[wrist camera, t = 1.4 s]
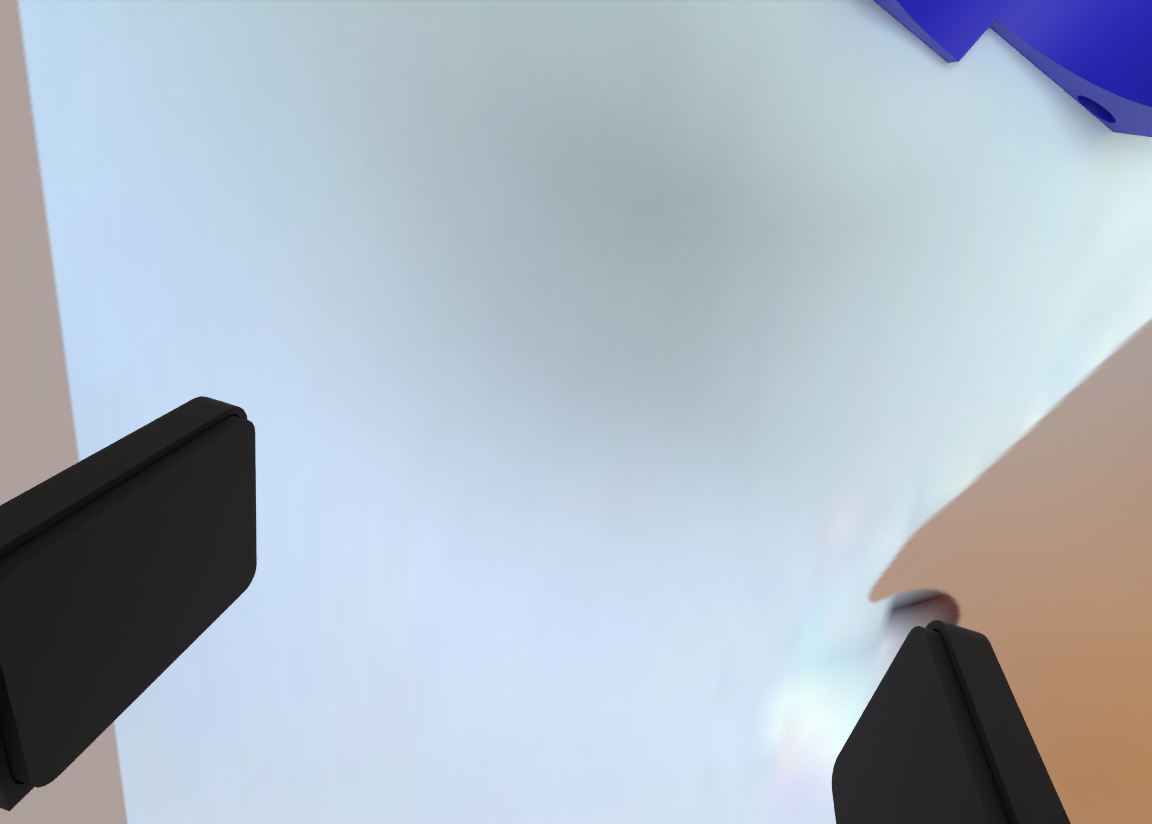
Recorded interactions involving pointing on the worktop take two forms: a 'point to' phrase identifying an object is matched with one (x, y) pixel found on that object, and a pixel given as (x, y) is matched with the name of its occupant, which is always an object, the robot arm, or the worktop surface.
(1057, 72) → the cable clip
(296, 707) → the worktop surface
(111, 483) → the robot arm
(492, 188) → the worktop surface
